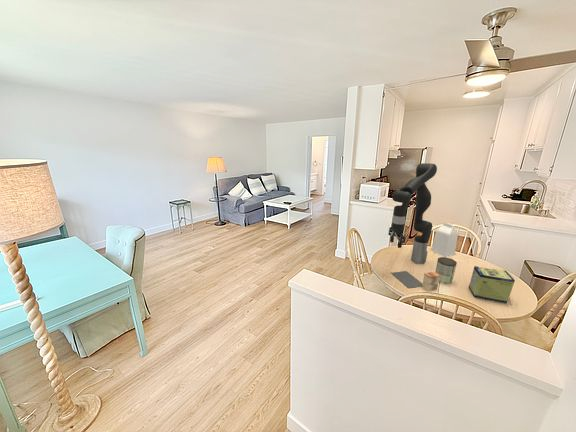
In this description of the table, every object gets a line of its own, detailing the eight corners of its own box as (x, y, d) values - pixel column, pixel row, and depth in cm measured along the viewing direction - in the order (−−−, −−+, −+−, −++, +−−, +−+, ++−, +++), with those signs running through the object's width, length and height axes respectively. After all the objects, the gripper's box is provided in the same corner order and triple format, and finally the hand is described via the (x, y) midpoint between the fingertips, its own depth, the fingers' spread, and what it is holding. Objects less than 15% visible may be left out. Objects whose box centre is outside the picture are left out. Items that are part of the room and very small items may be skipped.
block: (431, 285, 143) (434, 271, 140) (437, 289, 138) (440, 275, 135) (421, 286, 141) (424, 273, 138) (427, 291, 137) (430, 277, 134)
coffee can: (432, 274, 155) (435, 256, 150) (449, 276, 151) (453, 258, 147) (436, 282, 145) (440, 263, 141) (454, 285, 142) (459, 265, 138)
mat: (406, 271, 159) (406, 270, 159) (425, 286, 142) (425, 285, 142) (391, 273, 157) (391, 272, 157) (408, 288, 140) (408, 287, 140)
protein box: (507, 303, 125) (515, 280, 120) (473, 297, 131) (480, 274, 126) (499, 292, 134) (506, 270, 129) (468, 287, 140) (473, 265, 135)
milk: (431, 251, 188) (436, 222, 180) (440, 248, 192) (446, 220, 184) (445, 257, 177) (451, 227, 169) (454, 254, 181) (461, 224, 173)
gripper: (411, 225, 136) (407, 249, 141) (397, 218, 149) (394, 240, 154) (399, 226, 135) (396, 250, 140) (386, 218, 148) (384, 241, 153)
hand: (395, 244), depth 147 cm, fingers open, 8 cm apart
